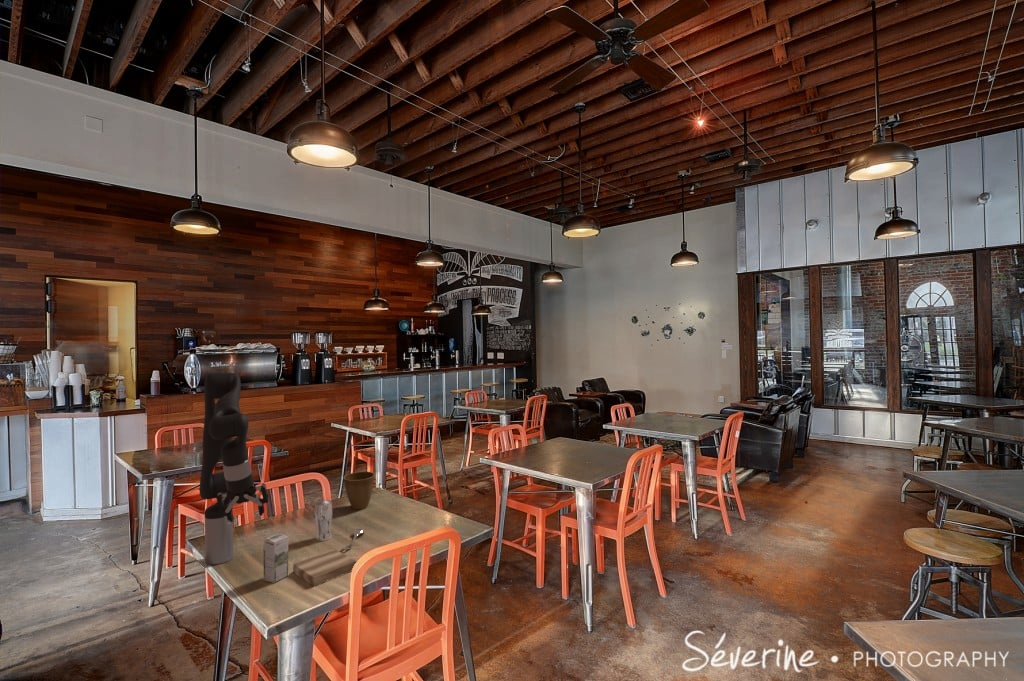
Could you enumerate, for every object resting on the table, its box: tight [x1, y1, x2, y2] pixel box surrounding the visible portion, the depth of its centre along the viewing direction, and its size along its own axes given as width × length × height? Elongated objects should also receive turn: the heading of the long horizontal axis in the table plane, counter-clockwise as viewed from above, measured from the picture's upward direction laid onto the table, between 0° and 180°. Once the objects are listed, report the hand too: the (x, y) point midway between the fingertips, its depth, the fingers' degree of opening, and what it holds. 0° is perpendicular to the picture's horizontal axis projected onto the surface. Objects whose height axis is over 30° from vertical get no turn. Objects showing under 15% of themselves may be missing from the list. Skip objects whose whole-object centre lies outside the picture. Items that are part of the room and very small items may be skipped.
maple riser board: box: [292, 548, 358, 587], centre depth 176 cm, size 16×16×3 cm
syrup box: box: [263, 533, 289, 584], centre depth 170 cm, size 6×6×14 cm
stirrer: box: [341, 528, 366, 550], centre depth 200 cm, size 20×4×5 cm
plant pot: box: [343, 471, 375, 511], centre depth 242 cm, size 15×15×16 cm
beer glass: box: [314, 499, 333, 542], centre depth 205 cm, size 7×7×15 cm
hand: (246, 517), depth 158 cm, fingers open, 8 cm apart
